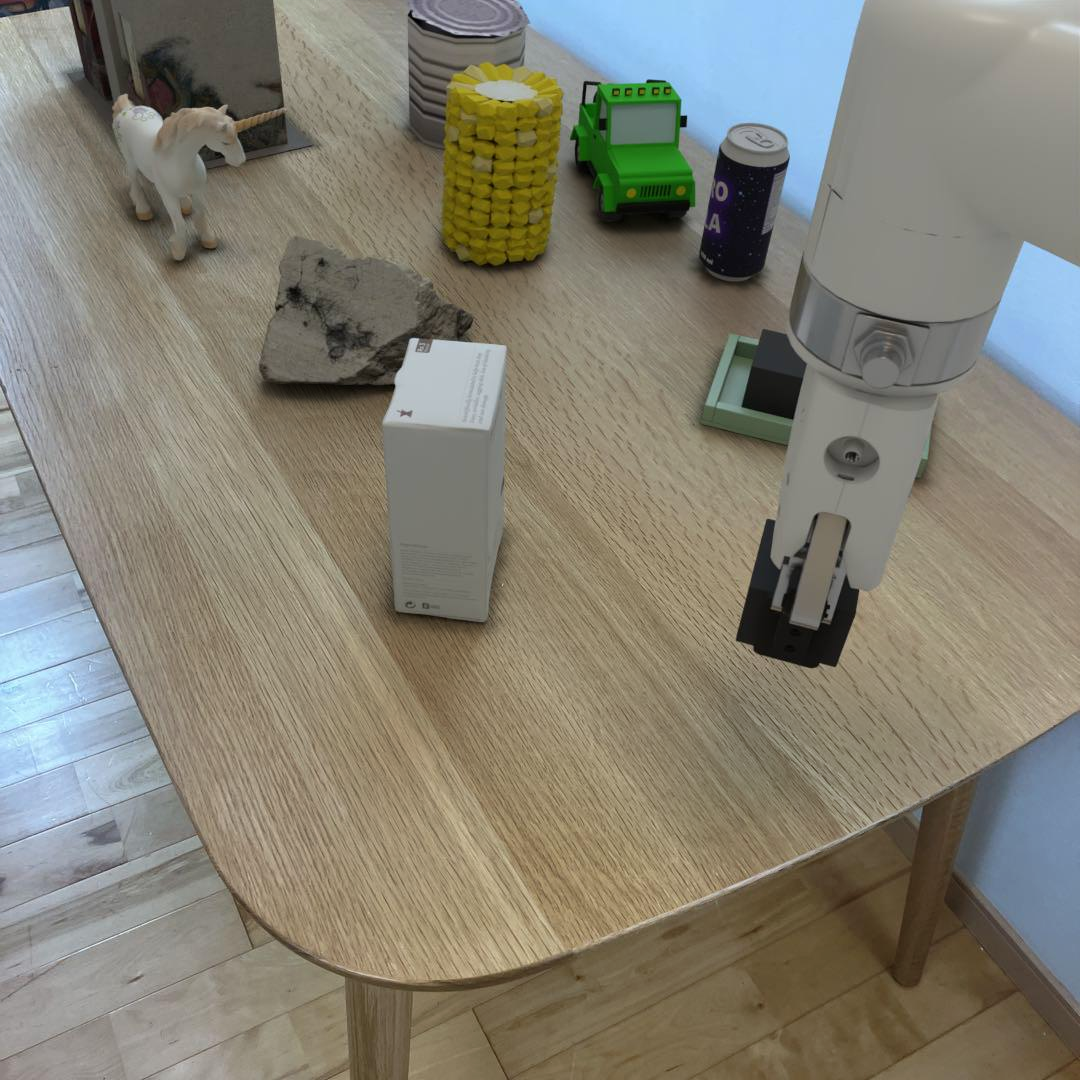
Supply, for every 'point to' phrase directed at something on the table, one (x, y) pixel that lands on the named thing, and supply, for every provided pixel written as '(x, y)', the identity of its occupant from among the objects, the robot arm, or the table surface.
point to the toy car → (634, 149)
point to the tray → (730, 393)
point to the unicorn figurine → (177, 158)
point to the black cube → (767, 580)
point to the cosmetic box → (446, 476)
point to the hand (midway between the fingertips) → (794, 612)
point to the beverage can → (744, 201)
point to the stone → (350, 317)
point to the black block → (774, 376)
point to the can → (456, 52)
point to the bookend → (186, 63)
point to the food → (500, 162)
